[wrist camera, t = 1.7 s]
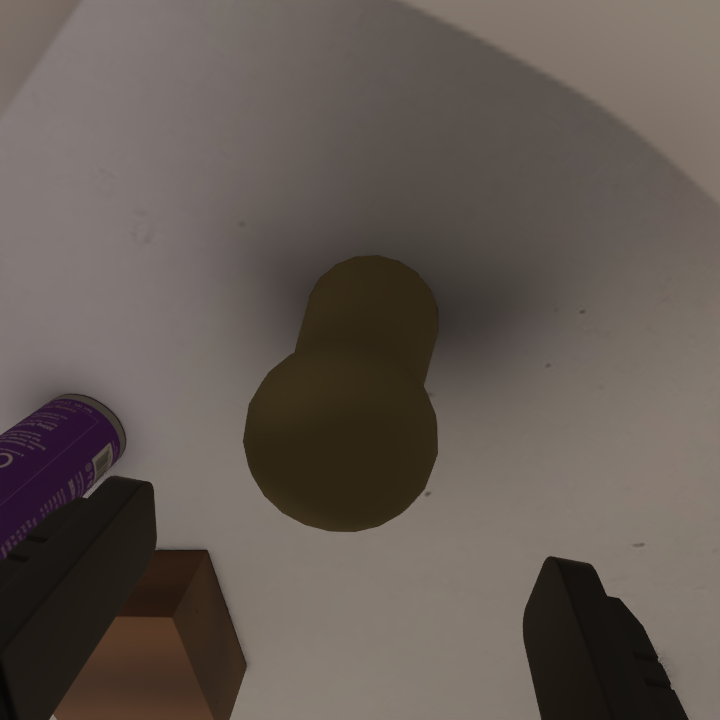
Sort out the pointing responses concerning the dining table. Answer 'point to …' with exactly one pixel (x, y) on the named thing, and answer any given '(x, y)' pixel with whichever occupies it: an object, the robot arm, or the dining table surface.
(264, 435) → the olive pawn
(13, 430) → the container
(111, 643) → the walnut block
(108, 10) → the dining table surface
